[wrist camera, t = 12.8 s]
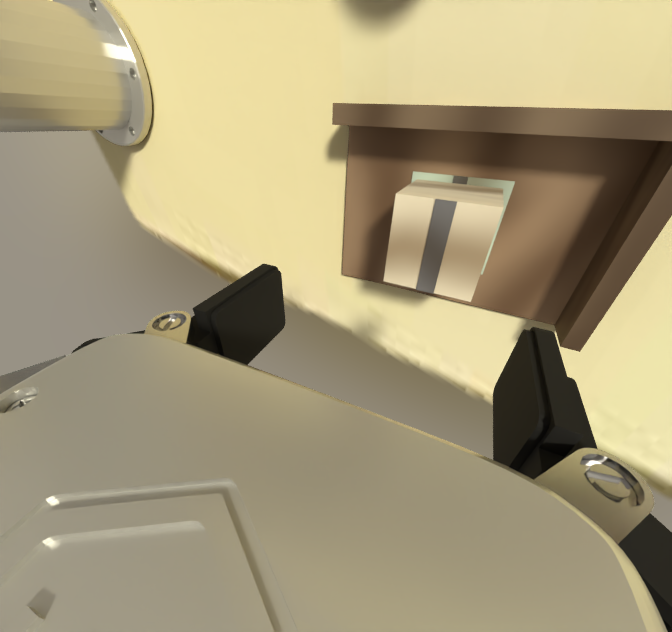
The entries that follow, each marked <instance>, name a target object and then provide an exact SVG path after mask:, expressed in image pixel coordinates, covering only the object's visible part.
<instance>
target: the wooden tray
mask: <svg viewBox="0 0 672 632" xmlns="http://www.w3.org/2000/svg"><path fill="white" fill-rule="evenodd" d="M332 125H349V143H348V164H347V185H346V205H345V226H344V247H343V267H342V274H344V275H348V276H352V277H356V278H361V279H365V280H369V281H373V282H377V283H381V284H386V285H390V286H394V287H398V288H402V289H407V290H411V291H415V292H419V293H423V294H427V295H432V296H436V297H440V298H444V299H448V300H453V301H457V302H461V303H465V304H469V305H473V306H478V307H482V308H486V309H490V310H494V311H498V312H503V313H507V314H511V315H515V316H519V317H524V318H528V319H532V320H536V321H540V322H544V323H549V324H553V325H555V328H556V332H557V336H558V340H559V344H560V347H564V348H568V349H572V350H576V351H579V352H580V351H581V349H582V348H583V346H584V345H585V343H586V342H587V340H588V339H589V337H590V336H591V334H592V333H593V331H594V330H595V328H596V327H597V325H598V324H599V322H600V321H601V320H602V318H603V317H604V315H605V314H606V312H607V311H608V309H609V308H610V306H611V305H612V303H613V302H614V300H615V299H616V297H617V296H618V294H619V293H620V291H621V290H622V288H623V287H624V285H625V284H626V282H627V281H628V279H629V278H630V276H631V275H632V274H633V272H634V271H635V269H636V268H637V266H638V265H639V263H640V262H641V260H642V259H643V257H644V256H645V254H646V253H647V251H648V250H649V248H650V247H651V245H652V244H653V242H654V241H655V239H656V238H657V236H658V235H659V233H660V232H661V231H662V229H663V228H664V226H665V225H666V223H667V222H668V220H669V219H670V217H671V216H672V111H671V110H625V109H579V108H533V107H487V106H441V105H395V104H349V103H333V123H332ZM417 179H420V180H429V181H438V182H447V183H456V184H465V185H474V186H484V187H493V188H502V189H503V200H504V208H503V211H502V214H501V217H500V220H499V223H498V225H497V228H496V231H495V234H494V237H493V240H492V243H491V245H490V248H489V251H488V254H487V257H486V260H485V263H484V266H483V268H482V271H481V274H480V277H479V280H478V283H477V286H476V288H475V291H474V294H473V297H472V300H471V302H469V301H464V300H460V299H456V298H452V297H448V296H443V295H439V294H435V293H434V294H432V293H428V292H424V291H419V290H416V289H414V288H410V287H406V286H401V285H397V284H393V283H389V282H385V281H383V280H384V273H385V266H386V259H387V252H388V245H389V238H390V231H391V224H392V217H393V210H394V203H395V196H396V193H397V192H399V191H400V190H402V189H403V188H405V187H406V186H408V185H409V184H411V183H412V182H414V181H415V180H417Z"/></svg>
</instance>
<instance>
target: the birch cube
mask: <svg viewBox="0 0 672 632" xmlns="http://www.w3.org/2000/svg"><path fill="white" fill-rule="evenodd" d="M503 208H504V200H503V189H502V188H493V187H484V186H474V185H465V184H456V183H447V182H438V181H429V180H420V179H417V180H415V181H414V182H412V183H411V184H409V185H408V186H406V187H405V188H403V189H402V190H400V191H399V192H397V193H396V196H395V203H394V210H393V217H392V224H391V231H390V238H389V245H388V252H387V259H386V266H385V273H384V280H383V281H385V282H389V283H393V284H397V285H401V286H406V287H410V288H414V289H416V290H419V291H424V292H428V293H432V294H434V293H435V294H439V295H443V296H448V297H452V298H456V299H460V300H464V301H469V302H471V300H472V297H473V294H474V291H475V288H476V286H477V283H478V280H479V277H480V274H481V271H482V268H483V266H484V263H485V260H486V257H487V254H488V251H489V248H490V245H491V243H492V240H493V237H494V234H495V231H496V228H497V225H498V223H499V220H500V217H501V214H502V211H503Z"/></svg>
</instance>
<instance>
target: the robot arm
mask: <svg viewBox="0 0 672 632" xmlns="http://www.w3.org/2000/svg"><path fill="white" fill-rule="evenodd" d="M151 117H152V98H151V91H150V85H149V80H148V76H147V72H146V69H145V66H144V63H143V60H142V57H141V54H140V52H139V50H138V47H137V45H136V43H135V41H134V38H133V37H132V35H131V33H130V31H129V30H128V28H127V26H126V24H125V23H124V21H123V20H122V19H121V17H120V16H119V14H118V13H117V12H116V10H115V9H114V8H113V7H112V6H111V5H110V4H109V3H108V2H107V0H53V1H50V0H0V132H28V131H29V132H30V131H82V130H84V131H86V130H96V131H97V132H98V133H99V134H100V135H101V136H102V137H104V138H105V139H106V140H108V141H110V142H112V143H113V144H116V145H120V146H132V145H136V144H139V143H140V142H141V141H143V140H144V138H145V137H146V135H147V134H148V131H149V128H150V124H151ZM193 311H194V314H195V316H193V317H192V318H191V316H190V315H189V314H188V313H187V312H184V311H170V312H166V313H163V314H160V315H158V316H156V317H154V318H153V319H152V320H151V321H150V322H149V323H148V325H147V327H146V330H144V331H139V332H133V333H127V334H120V335H113V336H108V337H105V338H99V339H92V340H89V341H86V342H84V343H83V344H82V345H81V346H79V347H78V348H76V349H75V350H74V351H73V352H72V353H71V354H70V355H68V356H65V355H64V356H61V357H58V358H55V359H52V360H49V361H46V362H43V363H40V364H36V365H33V366H30V367H27V368H24V369H21V370H18V371H15V372H12V373H8V374H5V375H2V376H0V632H672V532H670V531H669V530H668V529H667V528H666V527H665V526H664V525H663V524H662V523H660V522H659V521H658V520H657V519H656V518H654V516H652V515H651V514H650V512H651V511H652V509H653V507H654V498H653V494H652V492H651V490H650V488H649V486H648V485H647V483H646V482H645V481H644V480H643V479H642V477H641V476H640V475H639V474H638V473H637V472H636V471H635V470H634V469H632V468H631V467H630V466H629V465H628V464H626V463H625V462H623V461H622V460H620V459H619V458H617V457H616V456H614V455H611V454H609V453H607V452H605V451H602V450H598V449H597V446H596V443H595V440H594V437H593V434H592V431H591V427H590V424H589V421H588V418H587V415H586V412H585V409H584V406H583V403H582V399H581V396H580V393H579V390H578V387H577V384H576V382H575V380H574V379H572V378H569V377H567V374H566V371H565V368H564V364H563V361H562V357H561V354H560V351H559V347H558V344H557V340H556V337H555V334H554V332H552V331H548V330H544V329H539V328H535V327H532V328H531V329H530V331H529V330H523V332H522V333H521V335H520V337H519V339H518V341H517V343H516V345H515V347H514V349H513V351H512V353H511V355H510V357H509V359H508V361H507V363H506V365H505V367H504V369H503V371H502V373H501V375H500V377H499V379H498V381H497V383H496V385H495V388H494V392H493V450H494V451H493V454H494V455H493V457H494V458H493V460H492V459H489V458H487V457H485V456H482V455H480V454H477V453H475V452H473V451H471V450H468V449H466V448H463V447H461V446H458V445H456V444H453V443H451V442H448V441H446V440H443V439H440V438H438V437H435V436H433V435H430V434H428V433H425V432H423V431H420V430H418V429H415V428H412V427H410V426H407V425H405V424H402V423H399V422H397V421H394V420H391V419H389V418H386V417H383V416H381V415H378V414H376V413H373V412H371V411H368V410H365V409H363V408H360V407H357V406H355V405H352V404H350V403H347V402H344V401H342V400H339V399H336V398H333V397H331V396H328V395H326V394H323V393H320V392H318V391H315V390H312V389H310V388H307V387H305V386H301V385H299V384H296V383H294V382H291V381H289V380H286V379H283V378H281V377H278V376H275V375H272V374H270V373H267V372H264V371H262V370H259V369H256V368H254V367H251V366H248V364H249V362H250V361H251V360H253V358H255V356H256V355H258V353H260V351H261V350H262V349H263V348H264V347H265V346H266V345H267V344H268V343H269V342H270V341H271V340H272V339H273V338H274V337H275V336H276V335H277V334H278V333H279V332H280V331H281V330H282V329H283V328H284V326H285V312H284V301H283V290H282V278H281V272H280V271H278V268H277V267H276V266H271V265H267V264H262V265H260V266H259V267H257V268H256V269H254V270H253V271H251V272H249V273H248V274H246V275H245V276H243V277H241V278H240V279H238V280H237V281H235V282H234V283H232V284H230V285H229V286H227V287H226V288H224V289H223V290H221V291H219V292H218V293H216V294H215V295H213V296H211V297H210V298H208V299H207V300H205V301H204V302H202V303H200V304H199V305H197V306H196V307H194V308H193Z"/></svg>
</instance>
